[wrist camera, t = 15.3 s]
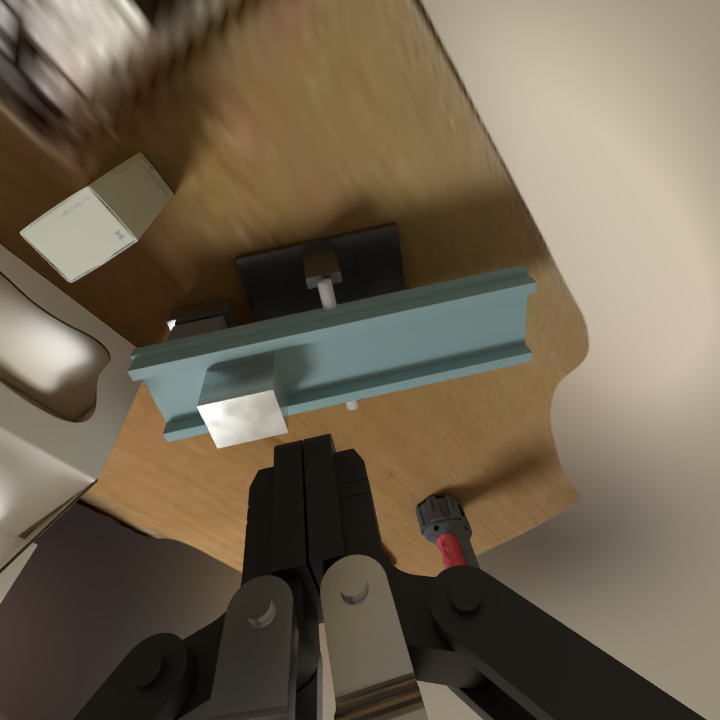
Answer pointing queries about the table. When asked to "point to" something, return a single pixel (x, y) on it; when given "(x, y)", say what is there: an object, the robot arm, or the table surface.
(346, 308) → the seesaw beam
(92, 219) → the skincare box
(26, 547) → the gable box
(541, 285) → the table surface
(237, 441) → the steel slider
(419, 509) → the flashlight
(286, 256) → the beam stand
